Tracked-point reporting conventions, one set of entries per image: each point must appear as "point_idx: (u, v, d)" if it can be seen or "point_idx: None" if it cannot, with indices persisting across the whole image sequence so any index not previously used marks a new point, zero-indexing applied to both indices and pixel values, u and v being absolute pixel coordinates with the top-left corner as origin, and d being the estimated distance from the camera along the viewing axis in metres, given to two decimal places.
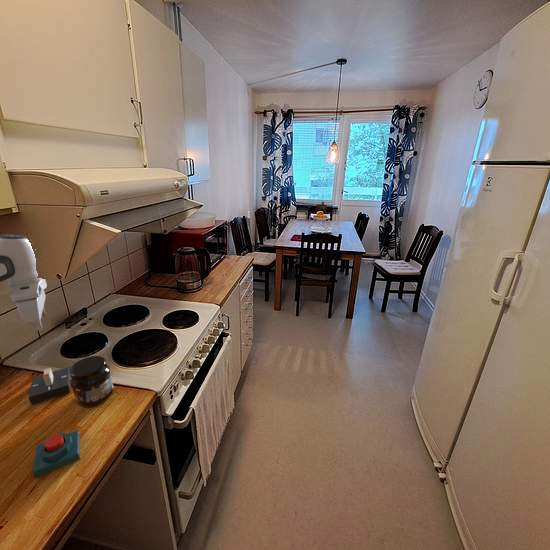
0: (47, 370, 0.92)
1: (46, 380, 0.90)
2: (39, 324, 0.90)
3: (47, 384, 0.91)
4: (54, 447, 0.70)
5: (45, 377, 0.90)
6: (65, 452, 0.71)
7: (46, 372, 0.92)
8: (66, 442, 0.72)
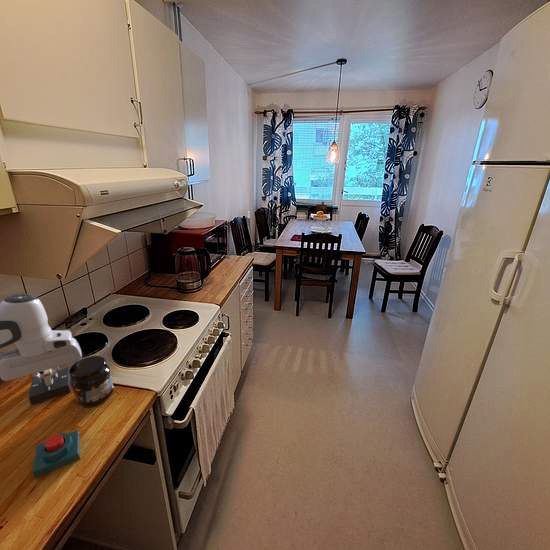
0: (47, 370, 0.92)
1: (46, 380, 0.90)
2: None
3: (47, 384, 0.91)
4: (54, 447, 0.70)
5: (45, 377, 0.90)
6: (65, 452, 0.71)
7: (46, 372, 0.92)
8: (66, 442, 0.72)
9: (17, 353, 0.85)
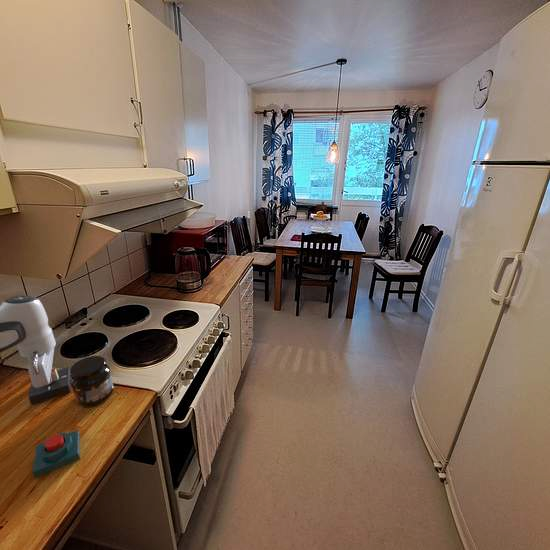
0: None
1: (56, 373, 0.93)
2: None
3: (58, 377, 0.94)
4: (54, 447, 0.70)
5: (55, 370, 0.93)
6: (65, 452, 0.71)
7: None
8: (66, 442, 0.72)
9: (38, 356, 0.84)
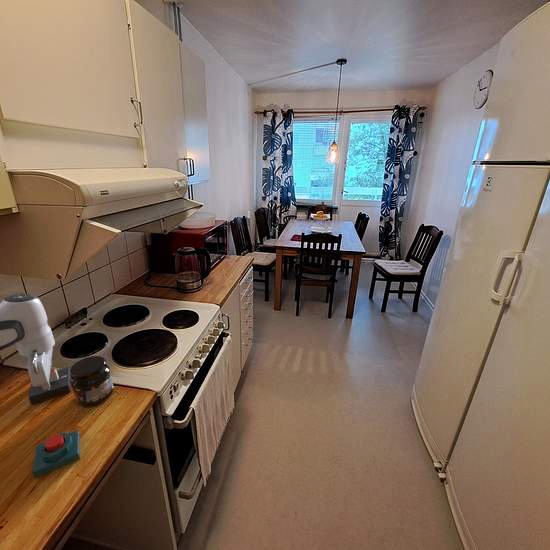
0: None
1: (56, 373, 0.93)
2: None
3: (58, 377, 0.94)
4: (54, 447, 0.70)
5: (55, 370, 0.93)
6: (65, 452, 0.71)
7: None
8: (66, 442, 0.72)
9: (37, 355, 0.84)
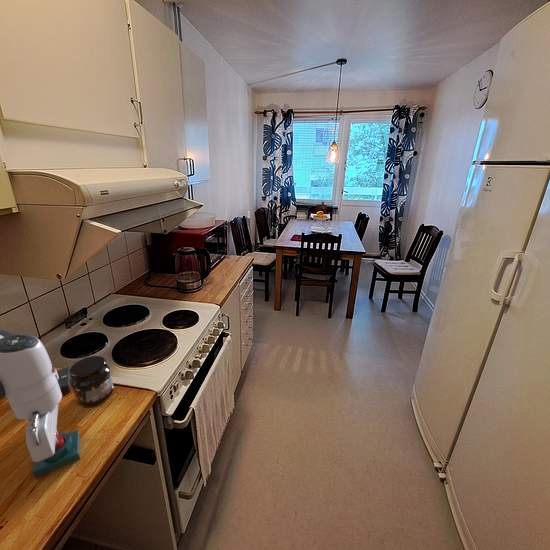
0: None
1: (56, 373, 0.93)
2: None
3: (58, 377, 0.94)
4: None
5: (55, 370, 0.93)
6: (65, 452, 0.71)
7: None
8: (66, 442, 0.72)
9: (39, 417, 0.63)
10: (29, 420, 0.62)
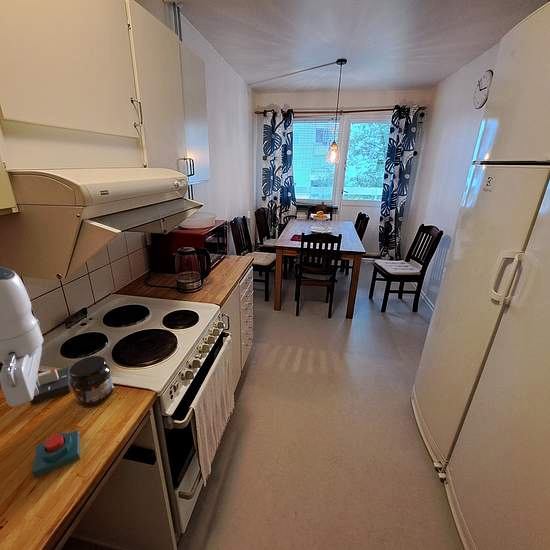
0: (43, 373, 0.91)
1: (56, 373, 0.93)
2: None
3: (58, 377, 0.94)
4: (54, 447, 0.70)
5: (55, 370, 0.93)
6: (65, 452, 0.71)
7: (46, 372, 0.91)
8: (66, 442, 0.72)
9: (16, 359, 0.57)
10: (5, 361, 0.57)
